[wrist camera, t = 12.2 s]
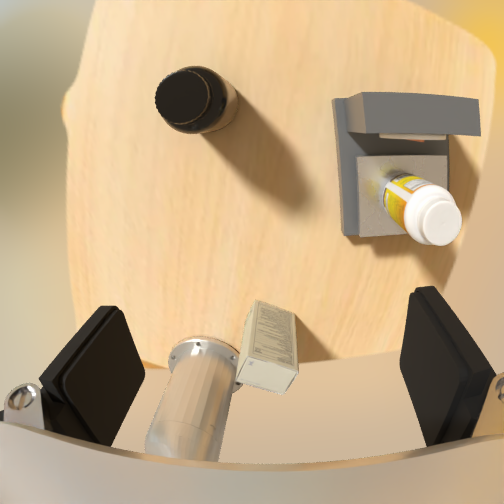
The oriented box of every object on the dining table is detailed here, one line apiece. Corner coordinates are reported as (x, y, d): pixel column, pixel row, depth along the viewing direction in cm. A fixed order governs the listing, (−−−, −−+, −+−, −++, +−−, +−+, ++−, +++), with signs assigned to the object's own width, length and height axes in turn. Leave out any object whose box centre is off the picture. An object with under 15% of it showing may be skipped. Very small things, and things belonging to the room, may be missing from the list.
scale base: (440, 223, 37) (481, 255, 27) (341, 230, 39) (359, 267, 29) (438, 101, 32) (485, 98, 22) (331, 99, 34) (350, 89, 23)
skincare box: (244, 321, 46) (231, 381, 35) (255, 297, 44) (245, 354, 33) (285, 336, 46) (283, 397, 35) (297, 312, 44) (299, 372, 33)
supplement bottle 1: (180, 130, 37) (138, 133, 26) (186, 76, 34) (146, 58, 23) (236, 134, 36) (215, 138, 25) (243, 78, 34) (224, 58, 23)
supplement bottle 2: (404, 230, 34) (441, 267, 25) (371, 199, 33) (401, 229, 24) (434, 194, 32) (479, 220, 23) (401, 161, 31) (443, 177, 22)
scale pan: (438, 225, 35) (445, 231, 34) (356, 231, 37) (360, 237, 35) (439, 153, 32) (447, 155, 30) (353, 155, 34) (357, 156, 32)
